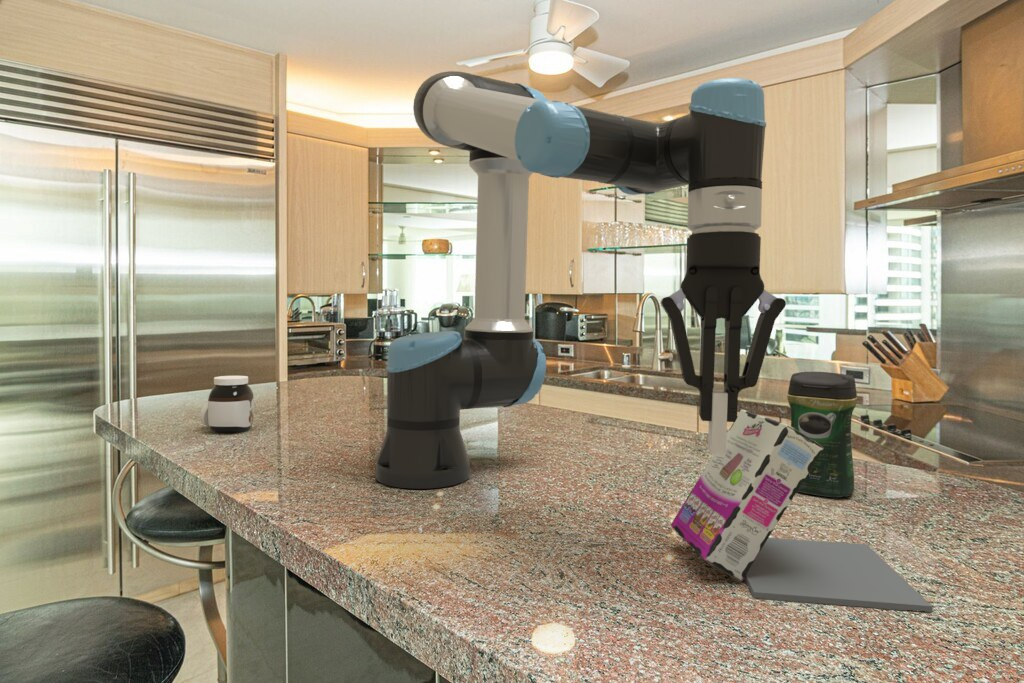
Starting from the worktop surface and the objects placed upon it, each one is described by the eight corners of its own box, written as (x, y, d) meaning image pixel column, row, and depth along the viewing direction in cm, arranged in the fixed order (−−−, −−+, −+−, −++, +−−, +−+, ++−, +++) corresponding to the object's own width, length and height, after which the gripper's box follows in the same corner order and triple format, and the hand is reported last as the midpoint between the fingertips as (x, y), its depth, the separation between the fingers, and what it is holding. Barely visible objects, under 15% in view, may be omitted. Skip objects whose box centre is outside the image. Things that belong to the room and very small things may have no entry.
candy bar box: (744, 585, 66) (827, 448, 66) (703, 562, 66) (787, 423, 66) (703, 544, 77) (774, 427, 77) (668, 524, 77) (740, 406, 77)
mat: (753, 598, 63) (754, 592, 63) (725, 539, 79) (725, 534, 79) (932, 612, 61) (932, 606, 61) (866, 549, 77) (866, 544, 77)
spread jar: (239, 435, 135) (238, 380, 134) (185, 434, 135) (184, 379, 135) (262, 425, 147) (261, 374, 146) (212, 424, 147) (212, 373, 147)
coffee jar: (857, 491, 101) (863, 372, 100) (847, 503, 95) (852, 376, 94) (792, 480, 107) (797, 368, 106) (778, 490, 101) (783, 371, 100)
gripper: (663, 228, 67) (657, 455, 68) (797, 228, 65) (788, 462, 66) (658, 236, 74) (653, 441, 75) (778, 236, 72) (771, 446, 73)
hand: (716, 450), depth 71 cm, fingers closed
